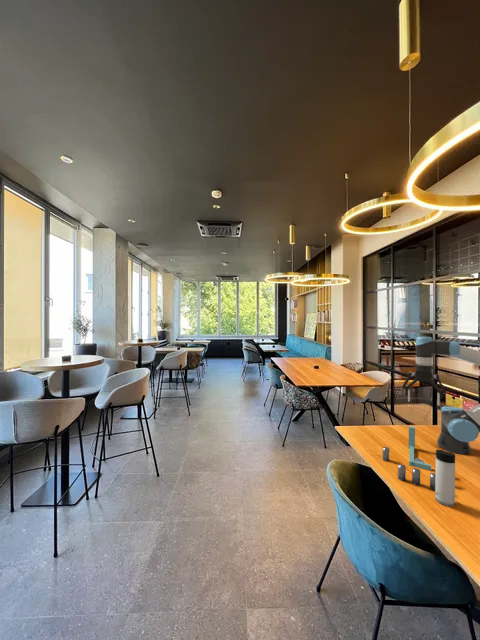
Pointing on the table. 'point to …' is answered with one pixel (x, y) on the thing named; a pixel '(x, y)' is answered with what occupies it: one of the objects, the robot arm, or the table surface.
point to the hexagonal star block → (419, 460)
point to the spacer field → (414, 472)
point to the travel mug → (445, 478)
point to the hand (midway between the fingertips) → (423, 403)
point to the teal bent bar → (412, 448)
